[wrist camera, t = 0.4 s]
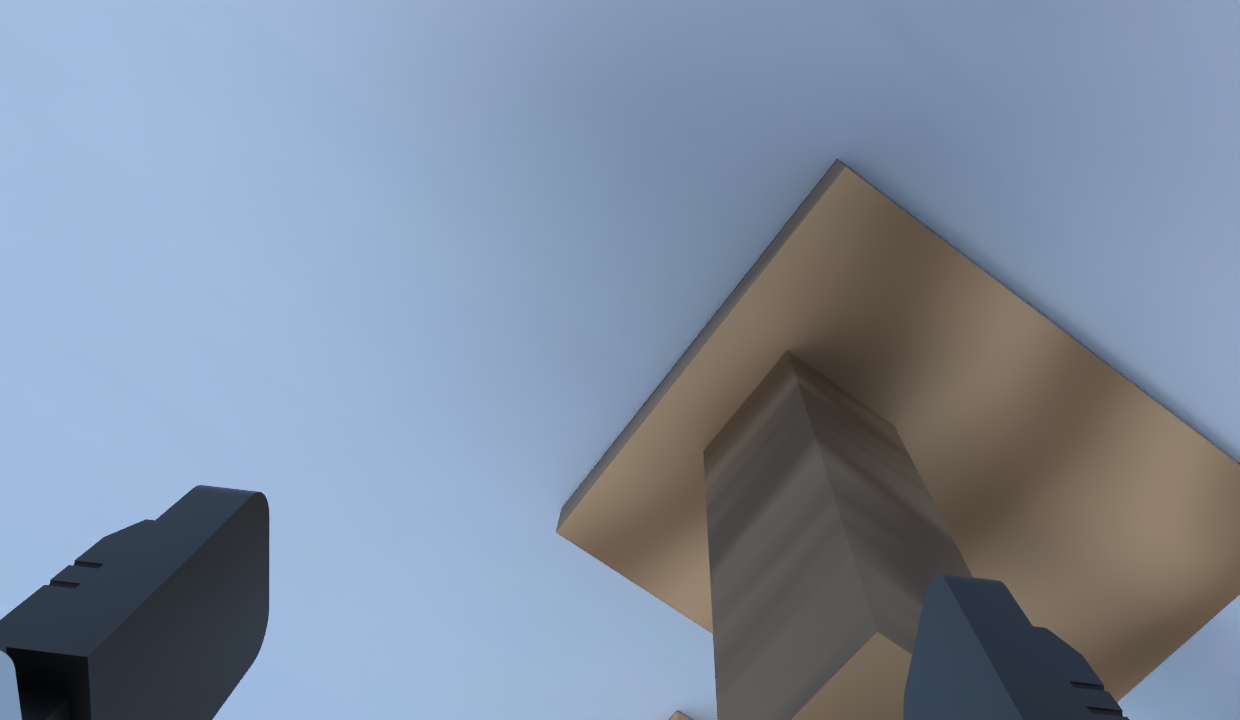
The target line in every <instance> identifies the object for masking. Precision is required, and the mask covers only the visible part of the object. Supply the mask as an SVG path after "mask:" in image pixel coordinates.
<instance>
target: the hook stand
mask: <svg viewBox="0 0 1240 720" xmlns="http://www.w3.org/2000/svg"><path fill="white" fill-rule="evenodd" d="M556 533H558V534H559V535H561V536H563V537H564V538H566V539H567V540H569V541H570V542H572V543H573V544H575V545H576V546H578V547H579V548H581V549H583V550H584V551H586V552H587V553H589V554H590V555H592V556H593V557H595V558H596V559H598V560H600V561H601V562H603V563H604V564H606V565H607V566H609V567H610V568H612V569H613V570H615V571H617V572H618V573H620V574H621V575H623V576H624V577H626V578H627V579H629V580H630V581H632V582H634V583H635V584H637V585H638V586H640V587H641V588H643V589H644V590H646V591H647V592H649V593H651V594H652V595H654V596H655V597H657V598H658V599H660V600H661V601H663V602H664V603H666V604H668V605H669V606H671V607H672V608H674V609H675V610H677V611H678V612H680V613H681V614H683V615H684V616H686V617H688V618H689V619H691V620H692V621H694V622H695V623H697V624H698V625H700V626H701V627H703V628H705V629H706V630H708V631H709V632H711V633H712V634H713V642H714V661H715V679H716V698H717V717H718V720H904V717H903V704H904V693H905V686H906V681H907V677H908V672H909V667H910V663H911V658H912V653H913V649H914V644H915V639H916V635H917V630H918V626H919V621H920V616H921V612H922V607H923V602H924V598H925V594H926V590H927V587H928V584H929V582H930V580H931V578H932V577H933V576H934V575H935V574H937V573H940V574H949V575H957V576H966V577H974V578H983V579H991V580H999V581H1002V582H1003V583H1004V584H1005V585H1006V587H1007V588H1008V590H1009V591H1010V593H1011V594H1012V596H1013V597H1014V599H1015V600H1016V602H1017V603H1018V605H1019V606H1020V608H1021V609H1022V611H1023V612H1024V614H1025V615H1026V617H1027V618H1028V620H1029V621H1030V623H1031V624H1032V626H1036V627H1044V628H1047V629H1049V630H1050V631H1051V632H1053V633H1054V634H1055V635H1057V636H1058V637H1059V638H1060V639H1062V640H1063V641H1064V642H1066V643H1067V644H1068V645H1070V646H1071V647H1072V648H1074V649H1075V650H1076V651H1078V652H1079V653H1080V654H1082V655H1083V656H1084V658H1085V659H1086V661H1087V662H1088V663H1089V665H1090V666H1091V668H1092V669H1093V670H1094V672H1095V673H1096V675H1097V676H1098V677H1099V679H1100V680H1101V681H1102V683H1103V684H1104V691H1109V693H1110V694H1111V695H1112V697H1113V698H1114V699H1115V701H1116V702H1118V701H1119V700H1120V699H1121V698H1122V697H1124V696H1125V695H1126V694H1127V693H1128V692H1129V691H1130V690H1132V689H1133V688H1134V687H1135V686H1136V685H1137V684H1138V683H1140V682H1141V681H1142V680H1143V679H1144V678H1145V677H1146V676H1147V675H1149V674H1150V673H1151V672H1152V671H1153V670H1154V669H1155V668H1157V667H1158V666H1159V665H1160V664H1161V663H1162V662H1163V661H1164V660H1166V659H1167V658H1168V657H1169V656H1170V655H1171V654H1172V653H1174V652H1175V651H1176V650H1177V649H1178V648H1179V647H1180V646H1181V645H1183V644H1184V643H1185V642H1186V641H1187V640H1188V639H1189V638H1191V637H1192V636H1193V635H1194V634H1195V633H1196V632H1197V631H1199V630H1200V629H1201V628H1202V627H1203V626H1204V625H1205V624H1206V623H1208V622H1209V621H1210V620H1211V619H1212V618H1213V617H1214V616H1216V615H1217V614H1218V613H1219V612H1220V611H1221V610H1222V609H1223V608H1225V607H1226V606H1227V605H1228V604H1229V603H1230V602H1231V601H1233V600H1234V599H1235V598H1236V597H1237V596H1238V595H1239V594H1240V464H1239V463H1238V462H1236V461H1235V460H1234V459H1232V458H1231V457H1230V456H1228V455H1227V454H1226V453H1224V452H1223V451H1222V450H1221V449H1219V448H1218V447H1217V446H1215V445H1214V444H1213V443H1211V442H1210V441H1209V440H1207V439H1206V438H1205V437H1203V436H1202V435H1201V434H1199V433H1198V432H1197V431H1195V430H1194V429H1193V428H1191V427H1190V426H1189V425H1188V424H1186V423H1185V422H1184V421H1182V420H1181V419H1180V418H1178V417H1177V416H1176V415H1174V414H1173V413H1172V412H1170V411H1169V410H1168V409H1166V408H1165V407H1164V406H1162V405H1161V404H1160V403H1159V402H1157V401H1156V400H1155V399H1153V398H1152V397H1151V396H1149V395H1148V394H1147V393H1145V392H1144V391H1143V390H1141V389H1140V388H1139V387H1137V386H1136V385H1135V384H1133V383H1132V382H1131V381H1129V380H1128V379H1127V378H1126V377H1124V376H1123V375H1122V374H1120V373H1119V372H1118V371H1116V370H1115V369H1114V368H1112V367H1111V366H1110V365H1108V364H1107V363H1106V362H1104V361H1103V360H1102V359H1100V358H1099V357H1098V356H1096V355H1095V354H1094V353H1093V352H1091V351H1090V350H1089V349H1087V348H1086V347H1085V346H1083V345H1082V344H1081V343H1079V342H1078V341H1077V340H1075V339H1074V338H1073V337H1071V336H1070V335H1069V334H1067V333H1066V332H1065V331H1064V330H1062V329H1061V328H1060V327H1058V326H1057V325H1056V324H1054V323H1053V322H1052V321H1050V320H1049V319H1048V318H1046V317H1045V316H1044V315H1042V314H1041V313H1040V312H1038V311H1037V310H1036V309H1034V308H1033V307H1032V306H1031V305H1029V304H1028V303H1027V302H1025V301H1024V300H1023V299H1021V298H1020V297H1019V296H1017V295H1016V294H1015V293H1013V292H1012V291H1011V290H1009V289H1008V288H1007V287H1005V286H1004V285H1003V284H1002V283H1000V282H999V281H998V280H996V279H995V278H994V277H992V276H991V275H990V274H988V273H987V272H986V271H984V270H983V269H982V268H980V267H979V266H978V265H976V264H975V263H974V262H972V261H971V260H970V259H969V258H967V257H966V256H965V255H963V254H962V253H961V252H959V251H958V250H957V249H955V248H954V247H953V246H951V245H950V244H949V243H947V242H946V241H945V240H943V239H942V238H941V237H939V236H938V235H937V234H936V233H934V232H933V231H932V230H930V229H929V228H928V227H926V226H925V225H924V224H922V223H921V222H920V221H918V220H917V219H916V218H914V217H913V216H912V215H910V214H909V213H908V212H907V211H905V210H904V209H903V208H901V207H900V206H899V205H897V204H896V203H895V202H893V201H892V200H891V199H889V198H888V197H887V196H885V195H884V194H883V193H881V192H880V191H879V190H877V189H876V188H875V187H874V186H872V185H871V184H870V183H868V182H867V181H866V180H864V179H863V178H862V177H860V176H859V175H858V174H856V173H855V172H854V171H852V170H851V169H850V168H848V167H847V166H846V165H845V164H843V163H842V162H841V161H839V160H838V159H837V160H836V161H835V163H834V164H833V165H832V166H831V168H830V169H829V170H828V171H827V173H826V174H825V175H824V176H823V178H822V179H821V180H820V182H819V183H818V184H817V185H816V187H815V188H814V189H813V190H812V192H811V193H810V194H809V196H808V197H807V198H806V199H805V201H804V202H803V203H802V204H801V206H800V207H799V208H798V209H797V211H796V212H795V213H794V215H793V216H792V217H791V218H790V220H789V221H788V222H787V223H786V225H785V226H784V227H783V229H782V230H781V231H780V232H779V234H778V235H777V236H776V237H775V239H774V240H773V241H772V243H771V244H770V245H769V246H768V248H767V249H766V250H765V251H764V253H763V254H762V255H761V256H760V258H759V259H758V260H757V262H756V263H755V264H754V265H753V267H752V268H751V269H750V270H749V272H748V273H747V274H746V276H745V277H744V278H743V279H742V281H741V282H740V283H739V284H738V286H737V287H736V288H735V289H734V291H733V292H732V293H731V295H730V296H729V297H728V298H727V300H726V301H725V302H724V303H723V305H722V306H721V307H720V309H719V310H718V311H717V312H716V314H715V315H714V316H713V317H712V319H711V320H710V321H709V323H708V324H707V325H706V326H705V328H704V329H703V330H702V331H701V333H700V334H699V335H698V336H697V338H696V339H695V340H694V342H693V343H692V344H691V345H690V347H689V348H688V349H687V350H686V352H685V353H684V354H683V356H682V357H681V358H680V359H679V361H678V362H677V363H676V364H675V366H674V367H673V368H672V369H671V371H670V372H669V373H668V375H667V376H666V377H665V378H664V380H663V381H662V382H661V383H660V385H659V386H658V387H657V389H656V390H655V391H654V392H653V394H652V395H651V396H650V397H649V399H648V400H647V401H646V403H645V404H644V405H643V406H642V408H641V409H640V410H639V411H638V413H637V414H636V415H635V416H634V418H633V419H632V420H631V422H630V423H629V424H628V425H627V427H626V428H625V429H624V430H623V432H622V433H621V434H620V436H619V437H618V438H617V439H616V441H615V442H614V443H613V444H612V446H611V447H610V448H609V449H608V451H607V452H606V453H605V455H604V456H603V457H602V458H601V460H600V461H599V462H598V463H597V465H596V466H595V467H594V469H593V470H592V471H591V472H590V474H589V475H588V476H587V477H586V479H585V480H584V481H583V483H582V484H581V485H580V486H579V488H578V489H577V490H576V491H575V493H574V494H573V495H572V496H571V498H570V499H569V500H568V502H567V503H566V504H565V505H564V507H563V508H562V509H561V513H560V517H559V522H558V526H557V530H556Z"/></svg>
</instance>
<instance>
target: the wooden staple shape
mask: <svg viewBox="0 0 1240 720" xmlns="http://www.w3.org/2000/svg"><path fill="white" fill-rule="evenodd" d="M669 720H691V719H690V718H688V717H686V716H685V715H683V714H682V713H680V712H678V711H677V712H676V713H675V714H674V715H673V716H672V717H671V718H670V719H669Z"/></svg>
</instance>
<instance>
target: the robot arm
mask: <svg viewBox="0 0 1240 720" xmlns="http://www.w3.org/2000/svg"><path fill="white" fill-rule="evenodd" d="M268 615H269V507H268V502H267V499H266V497H265V495H264V494H263V493H261V492H255V491H246V490H238V489H229V488H221V487H212V486H204V485H199V486H196V487H195V488H193V489H192V490H191V491H189V492H188V493H187V494H186V495H185V496H184V497H182V498H181V499H180V500H179V501H178V502H176V503H175V504H174V505H173V506H172V507H171V508H169V509H168V510H167V511H166V512H165V513H163V514H162V515H161V516H160V517H159V518H158V519H156V520H155V521H154V520H144V521H141V522H139V523H136V524H134V525H132V526H129V527H127V528H125V529H122V530H120V531H118V532H115V533H113V534H110V535H108V536H106V537H104V538H102V539H101V540H100V541H99V542H97V543H96V544H95V545H94V546H92V547H91V548H90V549H89V550H87V551H86V552H85V553H84V554H82V555H81V556H80V557H79V558H77V559H76V560H75V563H74V566H72V565H69V566H67V567H66V568H65V569H64V570H62V571H61V572H60V573H59V574H57V575H56V576H55V577H54V578H52V579H51V581H50V585H44V586H42V587H41V588H40V589H39V590H37V591H36V592H35V593H34V594H32V595H31V596H30V597H29V598H27V599H26V600H25V601H24V602H22V603H21V604H20V605H19V606H17V607H16V608H15V609H14V610H12V611H11V612H10V613H9V614H7V615H6V616H5V617H4V618H2V619H1V620H0V720H212V719H213V718H214V716H215V715H216V714H217V712H218V711H219V709H220V708H221V707H222V705H223V704H224V702H225V701H226V700H227V698H228V697H229V696H230V694H231V693H232V691H233V690H234V689H235V687H236V686H237V684H238V683H239V682H240V680H241V679H242V678H243V676H244V675H245V673H246V672H247V671H248V669H249V668H250V666H251V665H252V664H253V662H254V660H255V659H256V657H257V655H258V653H259V651H260V648H261V645H262V643H263V639H264V636H265V632H266V628H267V622H268ZM903 717H904V720H1129V719H1128V718H1127V717H1123V716H1122V709H1121V708H1120V706H1119V705H1118V704H1117V702H1116V701H1115V699H1114V698H1113V697H1112V695H1111V694H1110V693H1109V691H1104V684H1103V683H1102V681H1101V680H1100V679H1099V677H1098V676H1097V675H1096V673H1095V672H1094V670H1093V669H1092V668H1091V666H1090V665H1089V663H1088V662H1087V661H1086V659H1085V658H1084V656H1083V655H1082V654H1080V653H1079V652H1078V651H1076V650H1075V649H1074V648H1072V647H1071V646H1070V645H1068V644H1067V643H1066V642H1064V641H1063V640H1062V639H1060V638H1059V637H1058V636H1057V635H1055V634H1054V633H1053V632H1051V631H1050V630H1049V629H1047V628H1044V627H1036V626H1032V624H1031V623H1030V621H1029V620H1028V618H1027V617H1026V615H1025V614H1024V612H1023V611H1022V609H1021V608H1020V606H1019V605H1018V603H1017V602H1016V600H1015V599H1014V597H1013V596H1012V594H1011V593H1010V591H1009V590H1008V588H1007V587H1006V585H1005V584H1004V583H1003V582H1002V581H999V580H991V579H983V578H974V577H966V576H957V575H949V574H940V573H937V574H935V575H934V576H933V577H932V578H931V580H930V582H929V584H928V587H927V590H926V594H925V598H924V602H923V607H922V612H921V616H920V621H919V626H918V630H917V635H916V639H915V644H914V649H913V653H912V658H911V663H910V667H909V672H908V677H907V681H906V686H905V693H904V704H903Z"/></svg>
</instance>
